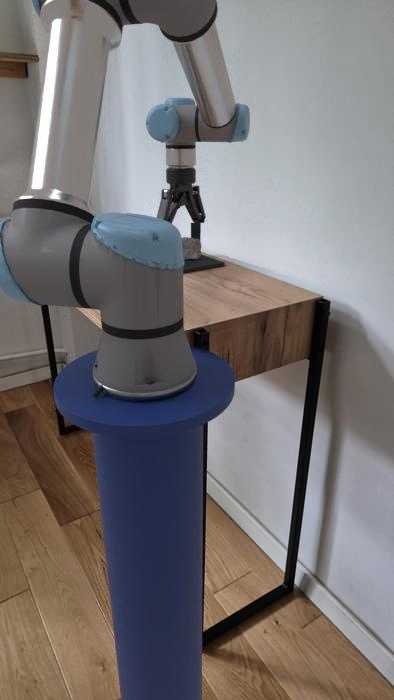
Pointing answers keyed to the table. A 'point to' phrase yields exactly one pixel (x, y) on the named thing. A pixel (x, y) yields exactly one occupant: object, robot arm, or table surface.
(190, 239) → the stone
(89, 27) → the robot arm
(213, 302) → the table surface
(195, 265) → the edge mat
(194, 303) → the table surface
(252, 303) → the table surface
